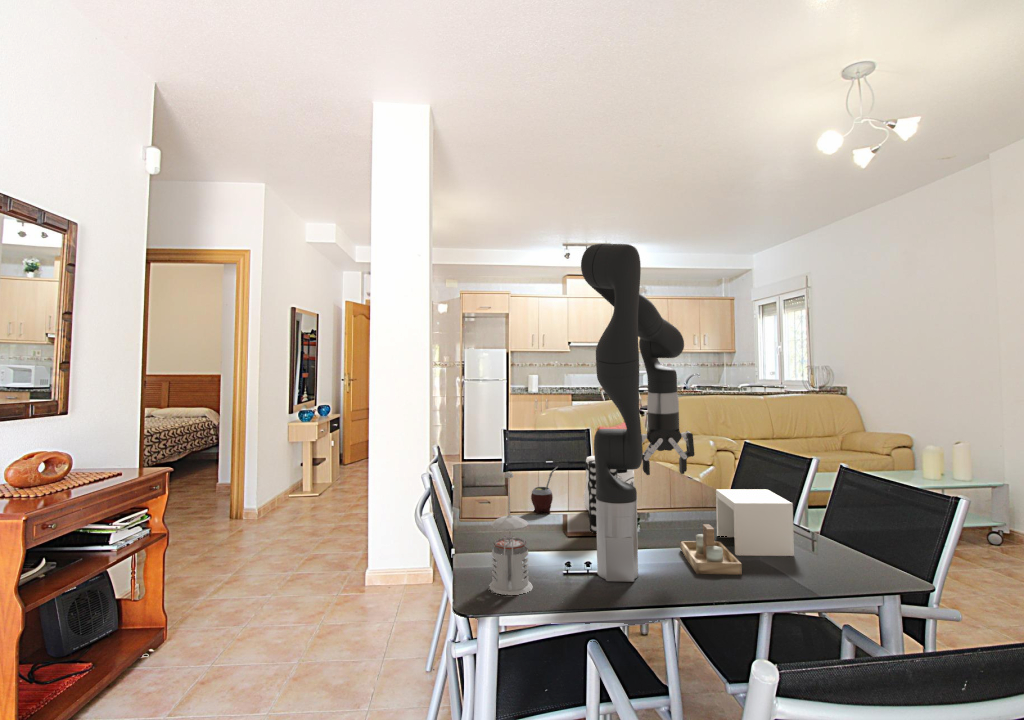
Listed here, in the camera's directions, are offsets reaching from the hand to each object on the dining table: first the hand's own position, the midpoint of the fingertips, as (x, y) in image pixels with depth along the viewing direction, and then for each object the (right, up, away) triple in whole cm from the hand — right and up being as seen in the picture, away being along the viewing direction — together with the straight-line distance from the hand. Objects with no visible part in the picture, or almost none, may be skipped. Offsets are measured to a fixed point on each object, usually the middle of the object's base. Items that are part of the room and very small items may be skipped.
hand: (664, 473), depth 137 cm
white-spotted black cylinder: (-12, -22, +22) cm, 33 cm away
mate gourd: (-28, -22, +44) cm, 57 cm away
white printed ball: (-6, -22, +42) cm, 48 cm away
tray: (+10, -21, -4) cm, 23 cm away
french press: (-39, -21, -19) cm, 48 cm away
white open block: (+25, -21, +7) cm, 33 cm away
